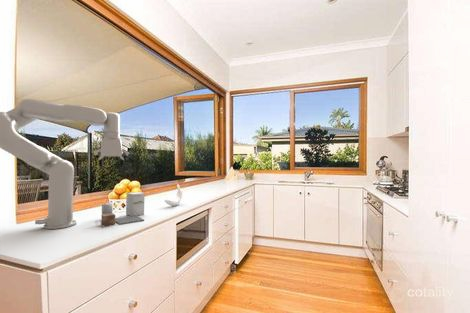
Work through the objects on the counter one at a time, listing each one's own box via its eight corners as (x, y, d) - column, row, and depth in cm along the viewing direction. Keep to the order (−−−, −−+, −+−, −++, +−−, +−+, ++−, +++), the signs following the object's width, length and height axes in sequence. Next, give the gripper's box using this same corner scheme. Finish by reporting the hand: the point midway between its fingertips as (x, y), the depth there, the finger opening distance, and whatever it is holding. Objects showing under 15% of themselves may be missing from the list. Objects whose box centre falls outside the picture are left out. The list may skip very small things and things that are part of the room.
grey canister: (102, 220, 121) (103, 205, 121) (100, 218, 125) (100, 203, 125) (113, 219, 125) (113, 204, 125) (110, 217, 128) (111, 202, 129)
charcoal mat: (119, 224, 114) (119, 223, 114) (112, 219, 123) (112, 218, 123) (144, 220, 122) (144, 219, 122) (136, 216, 131) (136, 215, 131)
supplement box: (132, 216, 130) (132, 194, 130) (125, 214, 135) (126, 193, 135) (144, 214, 136) (144, 192, 136) (137, 212, 141) (138, 191, 141)
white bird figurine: (164, 207, 155) (164, 185, 155) (177, 202, 173) (178, 183, 174) (170, 208, 154) (170, 186, 154) (183, 203, 172) (184, 183, 172)
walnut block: (103, 226, 111) (103, 216, 111) (101, 224, 115) (101, 214, 115) (115, 224, 114) (115, 214, 114) (112, 222, 118) (112, 212, 118)
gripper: (92, 134, 120) (91, 167, 120) (129, 135, 127) (128, 167, 126) (94, 135, 127) (94, 167, 127) (129, 137, 133) (129, 166, 133)
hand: (111, 167), depth 126 cm, fingers open, 9 cm apart
